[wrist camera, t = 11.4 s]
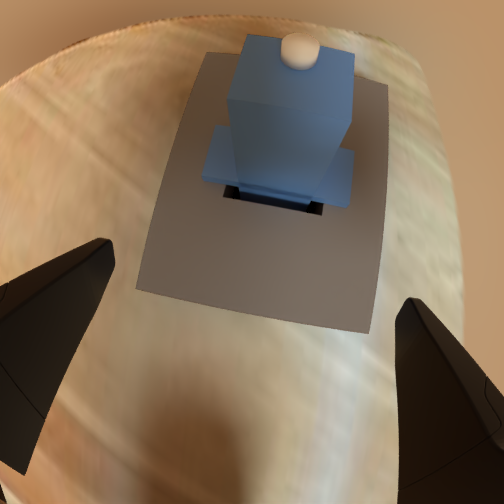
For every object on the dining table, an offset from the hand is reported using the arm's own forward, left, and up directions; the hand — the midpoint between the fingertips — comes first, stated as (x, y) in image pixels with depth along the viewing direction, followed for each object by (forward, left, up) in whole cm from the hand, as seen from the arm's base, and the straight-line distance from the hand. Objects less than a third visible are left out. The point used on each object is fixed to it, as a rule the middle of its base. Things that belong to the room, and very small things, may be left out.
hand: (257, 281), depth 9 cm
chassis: (+6, +5, -13) cm, 15 cm away
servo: (+6, +5, -13) cm, 15 cm away
